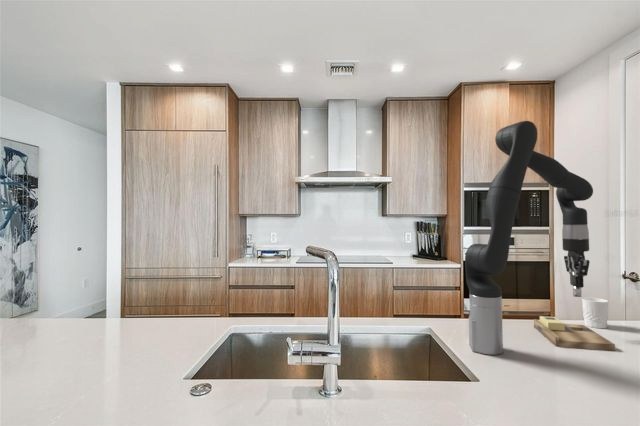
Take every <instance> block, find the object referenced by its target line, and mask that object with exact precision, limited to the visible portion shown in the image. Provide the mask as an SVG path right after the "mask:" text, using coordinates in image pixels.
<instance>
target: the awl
mask: <svg viewBox="0 0 640 426" xmlns="http://www.w3.org/2000/svg"><path fill="white" fill-rule="evenodd" d="M570 285H571V286H572V296H573V297H576V298H583V297H582V288H580V287H576V286H575V271H574V270H571V284H570Z"/></svg>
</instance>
